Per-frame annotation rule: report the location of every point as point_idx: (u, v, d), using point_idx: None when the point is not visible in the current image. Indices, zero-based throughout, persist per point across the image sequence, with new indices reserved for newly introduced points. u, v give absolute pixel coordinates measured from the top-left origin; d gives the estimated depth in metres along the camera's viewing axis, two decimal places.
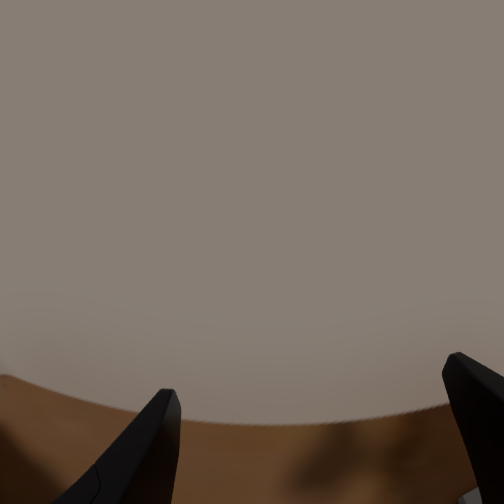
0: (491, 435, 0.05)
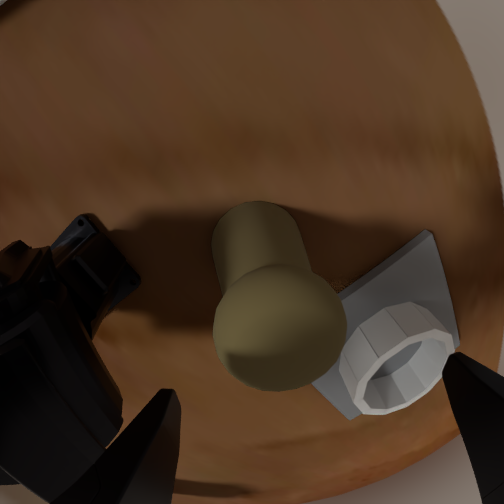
0: (491, 435, 0.05)
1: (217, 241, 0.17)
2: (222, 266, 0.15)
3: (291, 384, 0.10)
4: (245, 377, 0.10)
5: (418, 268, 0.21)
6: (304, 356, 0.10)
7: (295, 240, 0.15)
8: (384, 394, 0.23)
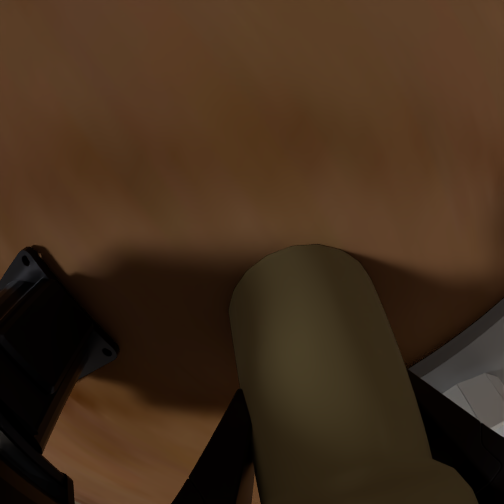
0: None
1: (241, 322, 0.09)
2: (252, 400, 0.07)
3: None
4: None
5: None
6: None
7: (393, 347, 0.07)
8: None
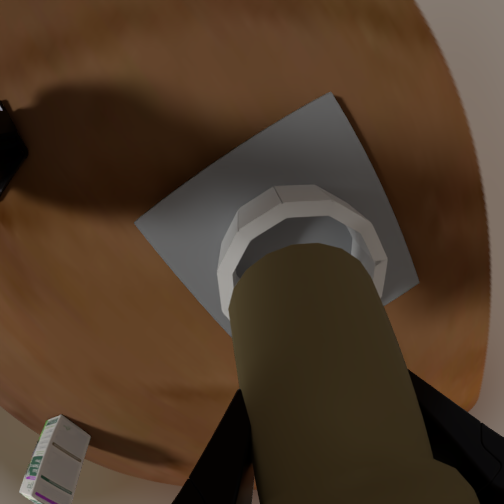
0: None
1: (241, 321, 0.09)
2: (251, 399, 0.07)
3: None
4: None
5: (317, 136, 0.17)
6: None
7: (394, 346, 0.07)
8: None
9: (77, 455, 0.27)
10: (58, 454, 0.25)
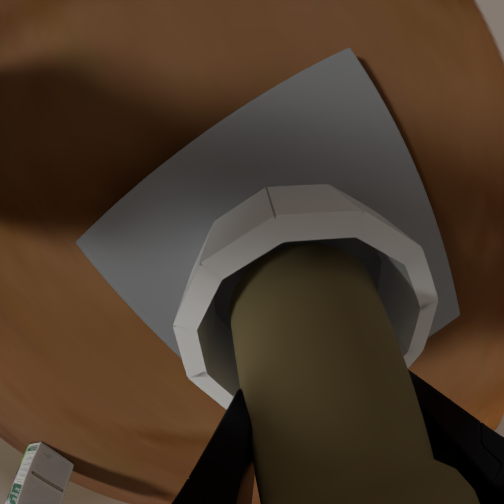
0: None
1: (241, 322, 0.09)
2: (252, 399, 0.07)
3: None
4: None
5: (332, 110, 0.10)
6: None
7: (394, 346, 0.07)
8: None
9: (58, 484, 0.21)
10: (38, 483, 0.19)
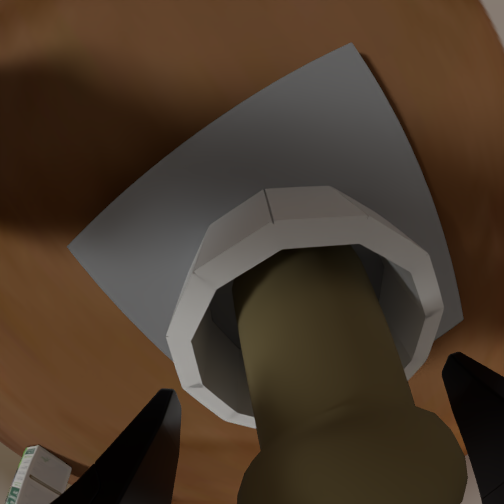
0: (491, 435, 0.05)
1: (243, 295, 0.11)
2: (253, 357, 0.08)
3: None
4: None
5: (334, 108, 0.10)
6: None
7: (378, 312, 0.08)
8: None
9: (56, 488, 0.21)
10: (36, 487, 0.18)
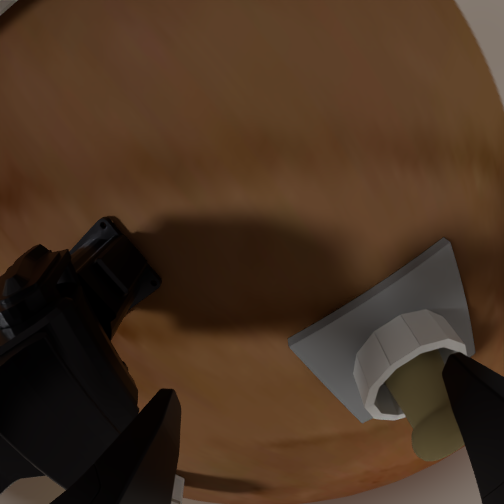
0: (491, 435, 0.05)
1: None
2: (406, 390, 0.18)
3: (445, 456, 0.14)
4: (430, 459, 0.14)
5: (435, 276, 0.20)
6: (459, 446, 0.13)
7: None
8: None
9: (176, 498, 0.32)
10: None
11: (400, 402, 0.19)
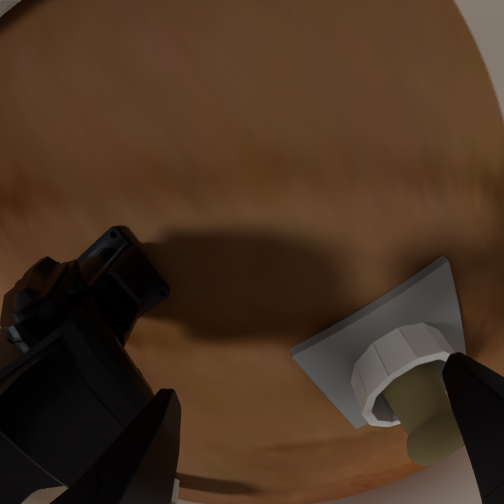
0: (491, 435, 0.05)
1: None
2: (402, 399, 0.19)
3: (438, 461, 0.15)
4: (424, 464, 0.15)
5: (433, 292, 0.21)
6: (451, 452, 0.14)
7: (439, 378, 0.19)
8: None
9: (172, 499, 0.32)
10: None
11: (396, 410, 0.20)
